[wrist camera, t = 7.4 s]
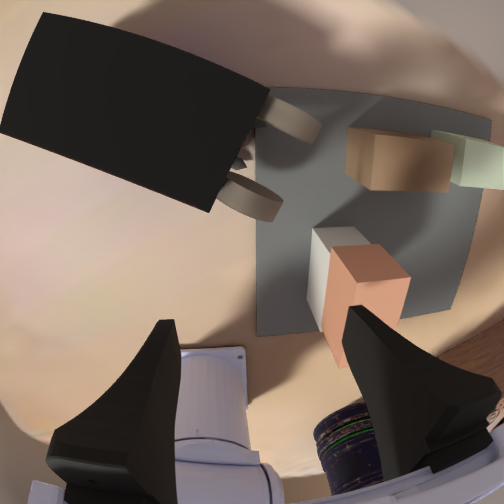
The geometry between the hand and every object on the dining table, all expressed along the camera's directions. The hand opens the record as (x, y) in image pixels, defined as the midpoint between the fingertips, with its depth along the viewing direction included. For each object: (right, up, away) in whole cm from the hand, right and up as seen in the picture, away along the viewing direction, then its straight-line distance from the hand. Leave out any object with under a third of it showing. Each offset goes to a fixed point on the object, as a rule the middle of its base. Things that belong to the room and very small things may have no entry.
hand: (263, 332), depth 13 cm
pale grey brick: (+5, +2, +11) cm, 12 cm away
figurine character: (-5, +12, +5) cm, 14 cm away
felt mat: (+10, +5, +10) cm, 15 cm away
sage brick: (+16, +11, +8) cm, 21 cm away
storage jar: (+12, -19, +23) cm, 32 cm away
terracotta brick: (+6, +1, +7) cm, 9 cm away
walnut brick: (+9, +10, +7) cm, 15 cm away
